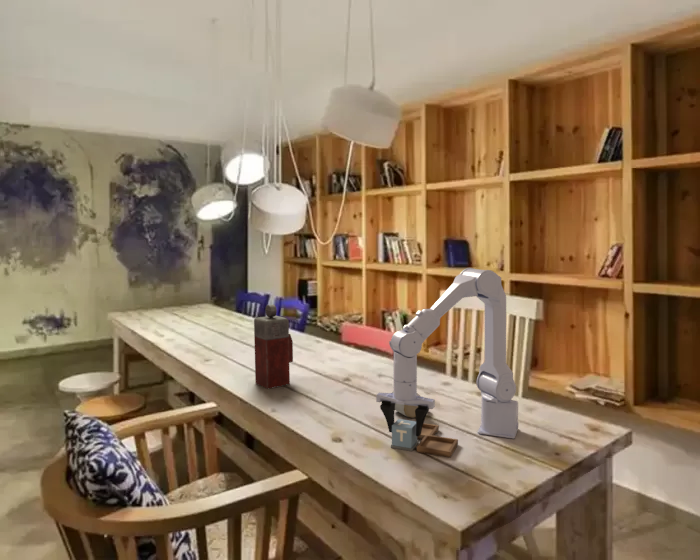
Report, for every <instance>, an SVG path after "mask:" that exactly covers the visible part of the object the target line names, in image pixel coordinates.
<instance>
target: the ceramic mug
mask: <svg viewBox="0 0 700 560" xmlns="http://www.w3.org/2000/svg"><path fill="white" fill-rule="evenodd" d="M391 393H394V390H392V392H391ZM417 395H418V396H421V395H420V394H419V393H418V392H417ZM417 408H418V406H411V405H402V404H396V403H395V411H396V412H398V413H400V415H404V416H405V417H407V418H411V419H413V418H415V419H416V415H415V410H416V409H417Z"/></svg>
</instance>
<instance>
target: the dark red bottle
mask: <svg viewBox="0 0 700 560" xmlns="http://www.w3.org/2000/svg"><path fill="white" fill-rule="evenodd" d="M277 310H278V309H277V306H275V304H267V305H266V306H265V315H266V316H260V317H255V318H254V319H253V327H254V328H253V331H254V335H253V336H254V337H253V339H254V369H255V371H254V372H255V373H254V377H255V379H254V380H255V384H256V383H257V384H256V385H258V384H259V385H258V386H260V385H261V386H260V387H262V386H263V388H264V387H265V388H264V389H266V388H267V389H266V390H269V389H268V388H270V389H273V388H272V387H275V388H278V387H277V386H280V387H283V386H282V385H284V386H287V385H286V384H289V385H290V384H291V383H290V379H291V377H290V375H291V374H290V363H293V362H294V349H293V346H294V345H293V344H294V343H293V338H292V335H291V334H290V332H289V331H290V330H289V327H290V326H289V323H290V321H289V319H288V318H286V317H284V316H283V317H282V316H279V315H277V312H278V311H277Z"/></svg>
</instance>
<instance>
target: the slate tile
mask: <svg viewBox="0 0 700 560" xmlns="http://www.w3.org/2000/svg"><path fill="white" fill-rule="evenodd" d="M419 443H420V440H417V442H416V443H415V444H414V446H413V447H412V448H406V447H400V446H394V445H392V444H391V445H390V448H391V449H397V450H403V451H408V452H413V451H414V450H415V448H417V446H418V444H419Z"/></svg>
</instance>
